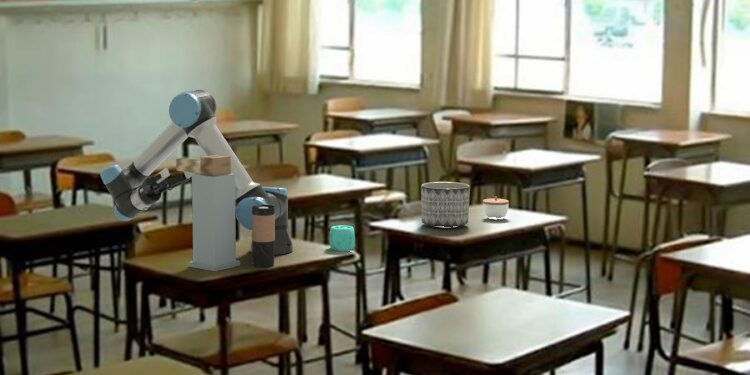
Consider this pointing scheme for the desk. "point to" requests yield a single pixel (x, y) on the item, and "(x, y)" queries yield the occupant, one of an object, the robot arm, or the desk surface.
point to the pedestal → (213, 222)
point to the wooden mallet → (206, 165)
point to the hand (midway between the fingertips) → (182, 169)
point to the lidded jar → (495, 207)
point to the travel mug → (263, 235)
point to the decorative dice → (342, 238)
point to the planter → (445, 203)
